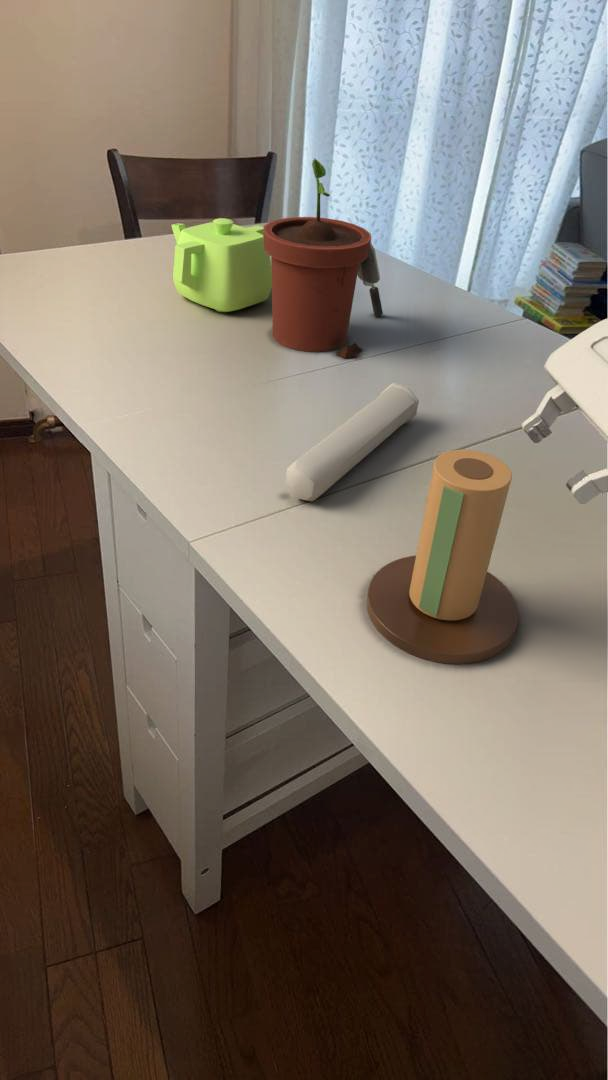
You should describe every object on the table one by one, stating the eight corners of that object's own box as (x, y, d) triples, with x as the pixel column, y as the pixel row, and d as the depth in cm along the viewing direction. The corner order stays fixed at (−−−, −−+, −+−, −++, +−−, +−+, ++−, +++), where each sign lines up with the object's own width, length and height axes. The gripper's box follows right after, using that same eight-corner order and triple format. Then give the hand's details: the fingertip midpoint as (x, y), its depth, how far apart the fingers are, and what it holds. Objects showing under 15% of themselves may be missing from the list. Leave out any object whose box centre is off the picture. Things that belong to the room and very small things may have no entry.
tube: (324, 485, 84) (425, 398, 101) (284, 455, 85) (391, 374, 102) (307, 518, 87) (407, 429, 105) (269, 490, 88) (375, 406, 106)
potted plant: (253, 313, 131) (258, 147, 116) (381, 314, 135) (402, 153, 120) (265, 358, 117) (272, 176, 102) (407, 358, 121) (434, 182, 106)
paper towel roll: (486, 589, 75) (520, 461, 67) (466, 631, 71) (500, 499, 62) (422, 567, 77) (447, 441, 69) (398, 607, 72) (422, 476, 64)
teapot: (133, 294, 134) (128, 213, 126) (218, 270, 147) (218, 195, 139) (209, 327, 125) (209, 242, 117) (293, 298, 138) (298, 220, 130)
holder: (530, 592, 78) (534, 580, 77) (494, 686, 68) (498, 673, 67) (396, 548, 82) (398, 536, 81) (343, 629, 72) (344, 617, 71)
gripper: (617, 279, 69) (487, 383, 73) (761, 386, 53) (584, 511, 57) (647, 329, 73) (521, 425, 77) (791, 443, 57) (621, 557, 61)
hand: (548, 463), depth 67 cm, fingers open, 8 cm apart
